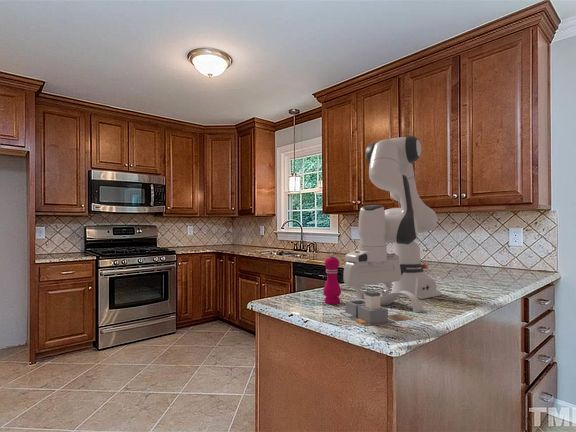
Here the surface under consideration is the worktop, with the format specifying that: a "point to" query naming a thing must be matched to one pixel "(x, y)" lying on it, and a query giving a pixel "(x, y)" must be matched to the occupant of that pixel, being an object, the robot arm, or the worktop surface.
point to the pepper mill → (332, 281)
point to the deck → (398, 317)
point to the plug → (372, 300)
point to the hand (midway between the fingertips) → (373, 297)
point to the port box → (365, 313)
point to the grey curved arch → (389, 299)
